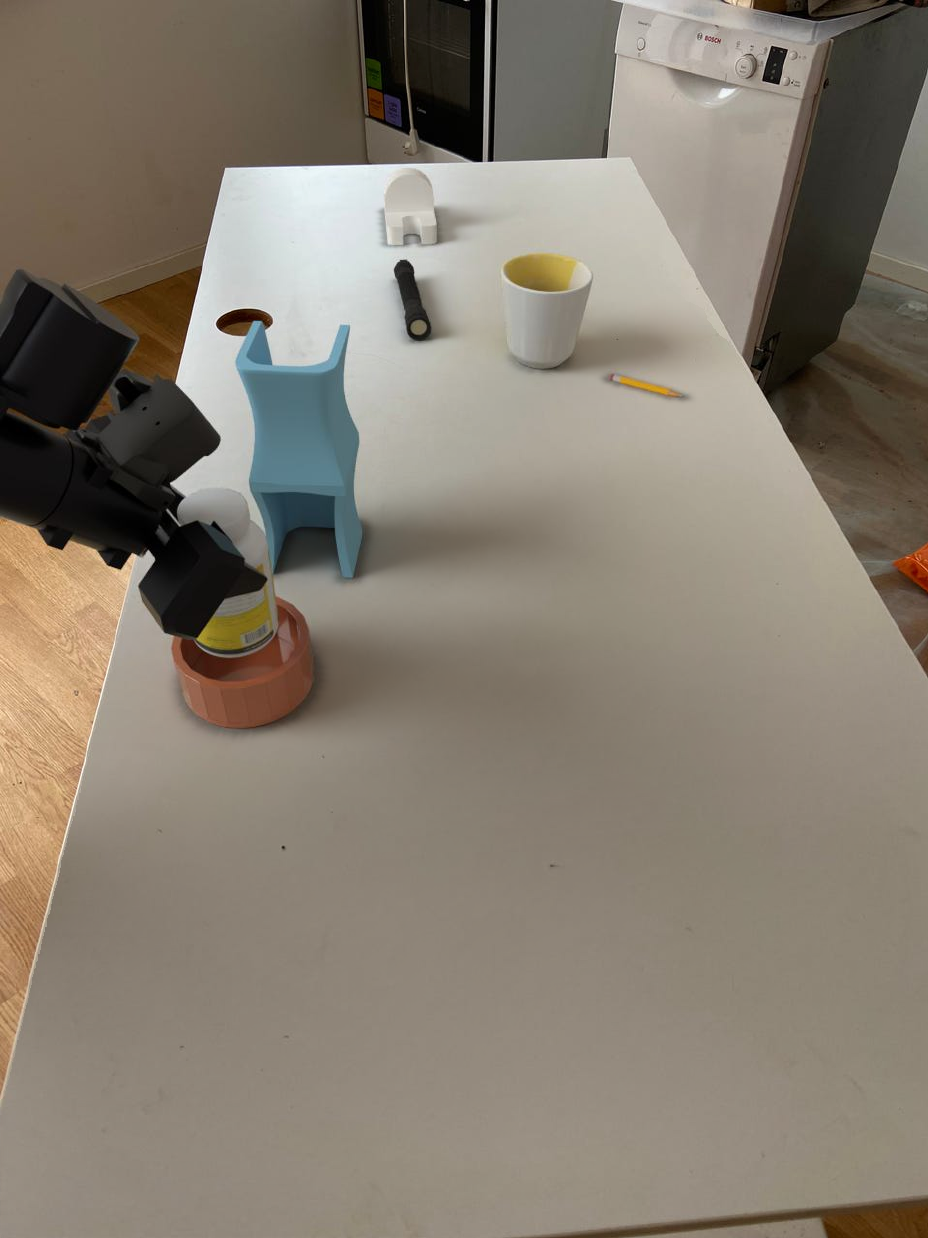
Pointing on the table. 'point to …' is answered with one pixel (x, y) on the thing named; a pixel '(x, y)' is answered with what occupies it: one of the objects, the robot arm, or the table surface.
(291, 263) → the table surface
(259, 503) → the stacked u-channel piece
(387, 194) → the slotted bracket
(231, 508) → the pill bottle
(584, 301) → the mug
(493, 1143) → the table surface
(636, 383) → the pencil
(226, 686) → the bowl
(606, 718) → the table surface
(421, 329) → the flashlight
